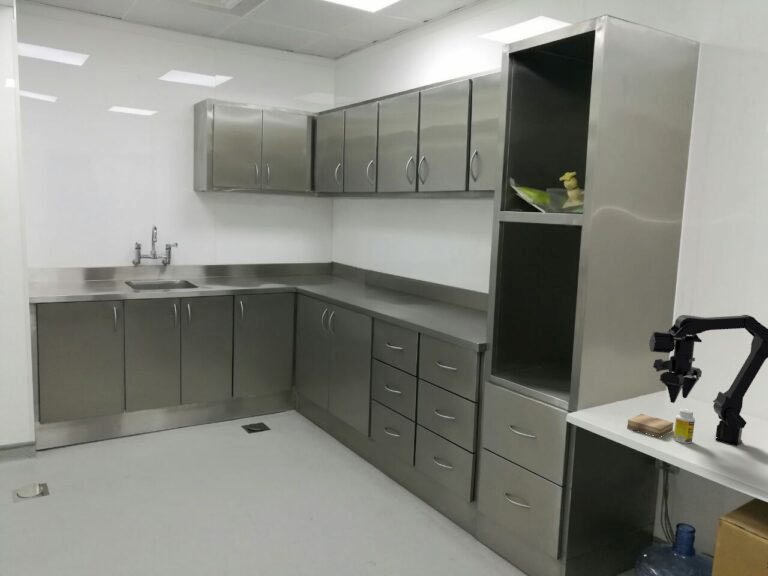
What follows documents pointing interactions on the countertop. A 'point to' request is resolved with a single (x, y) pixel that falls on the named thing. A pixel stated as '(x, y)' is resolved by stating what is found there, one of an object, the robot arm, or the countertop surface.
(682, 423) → the supplement bottle
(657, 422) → the brown box
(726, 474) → the countertop surface
